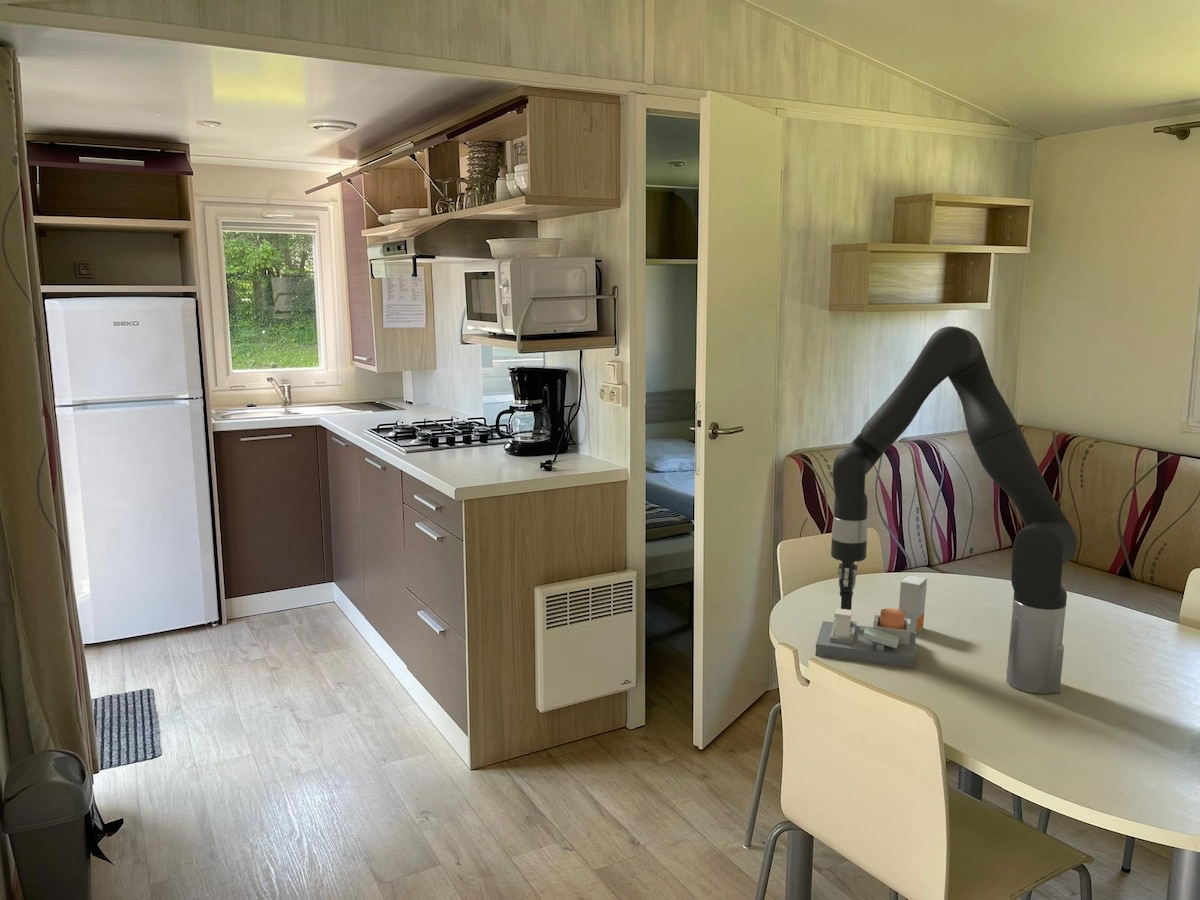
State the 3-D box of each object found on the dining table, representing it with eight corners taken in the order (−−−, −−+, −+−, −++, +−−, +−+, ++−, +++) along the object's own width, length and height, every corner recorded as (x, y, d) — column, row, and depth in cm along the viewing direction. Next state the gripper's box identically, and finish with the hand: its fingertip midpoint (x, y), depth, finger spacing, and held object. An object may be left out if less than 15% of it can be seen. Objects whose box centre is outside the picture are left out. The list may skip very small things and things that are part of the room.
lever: (850, 635, 194) (852, 610, 193) (849, 641, 191) (851, 615, 190) (834, 633, 195) (836, 608, 194) (833, 639, 192) (834, 613, 191)
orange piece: (903, 631, 196) (905, 609, 195) (903, 640, 192) (904, 617, 191) (879, 628, 198) (881, 607, 197) (878, 636, 193) (880, 615, 192)
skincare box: (915, 635, 201) (919, 585, 199) (896, 631, 204) (899, 581, 202) (924, 627, 206) (927, 578, 204) (905, 623, 209) (908, 574, 206)
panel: (914, 643, 197) (916, 619, 196) (914, 668, 184) (916, 643, 183) (822, 631, 204) (823, 608, 203) (815, 655, 191) (816, 630, 190)
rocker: (897, 641, 190) (898, 636, 189) (896, 648, 186) (898, 643, 186) (864, 630, 192) (865, 625, 191) (862, 637, 188) (864, 632, 188)
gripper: (865, 546, 189) (861, 624, 192) (868, 530, 202) (864, 603, 205) (829, 543, 192) (826, 620, 195) (834, 528, 204) (831, 600, 207)
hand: (846, 611), depth 200 cm, fingers closed
